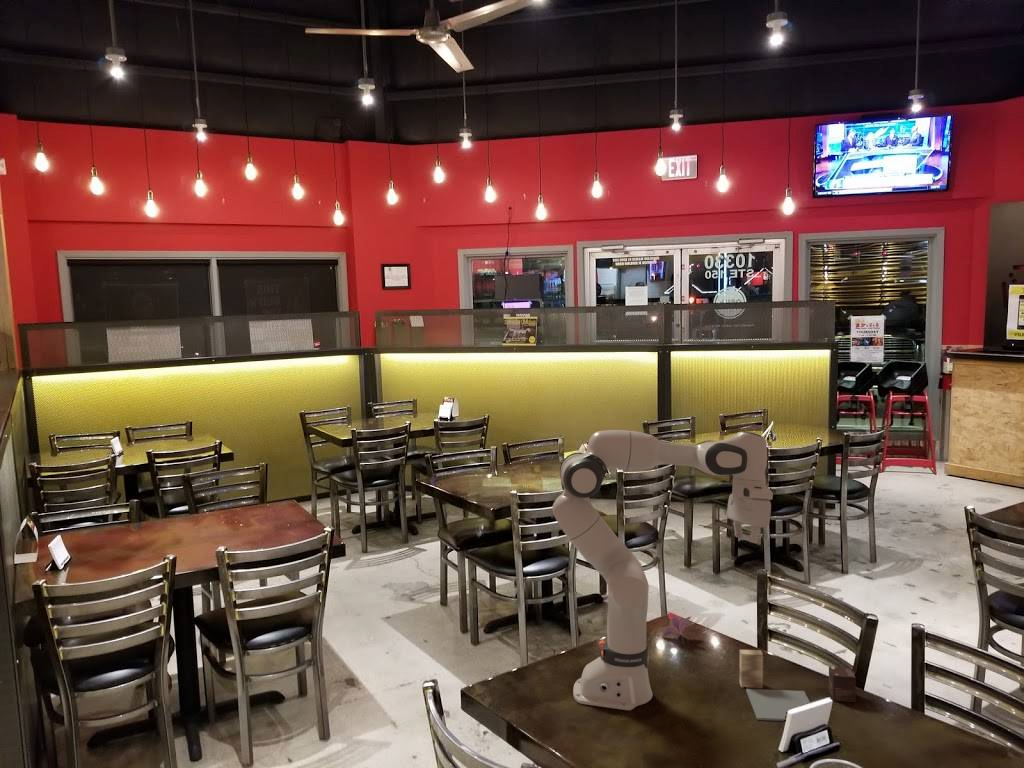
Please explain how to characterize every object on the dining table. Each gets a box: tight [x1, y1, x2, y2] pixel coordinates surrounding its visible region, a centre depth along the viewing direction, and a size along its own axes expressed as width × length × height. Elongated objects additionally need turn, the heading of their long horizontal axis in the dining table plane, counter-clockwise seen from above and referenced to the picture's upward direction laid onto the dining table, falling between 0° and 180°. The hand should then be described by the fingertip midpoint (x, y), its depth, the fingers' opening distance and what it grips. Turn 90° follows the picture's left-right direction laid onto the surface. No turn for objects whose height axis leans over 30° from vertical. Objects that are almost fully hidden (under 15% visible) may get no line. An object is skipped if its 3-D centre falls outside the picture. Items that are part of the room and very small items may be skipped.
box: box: [828, 666, 857, 703], centre depth 211 cm, size 6×6×7 cm
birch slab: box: [738, 649, 764, 689], centre depth 218 cm, size 6×3×10 cm, turn 83°
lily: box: [660, 615, 695, 645], centre depth 249 cm, size 12×12×10 cm
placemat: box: [745, 688, 811, 722], centre depth 207 cm, size 16×16×1 cm
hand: (745, 539), depth 209 cm, fingers open, 8 cm apart
